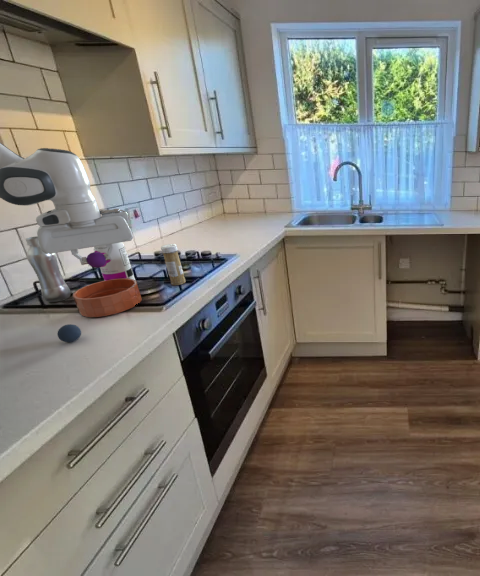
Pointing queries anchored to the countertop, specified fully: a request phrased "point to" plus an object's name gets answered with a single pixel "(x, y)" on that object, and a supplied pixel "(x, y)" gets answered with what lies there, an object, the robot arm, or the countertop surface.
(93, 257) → the plum ball
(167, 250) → the sprinkles bottle
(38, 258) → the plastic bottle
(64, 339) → the slate ball
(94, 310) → the bowl
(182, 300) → the countertop surface
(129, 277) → the supplement can
